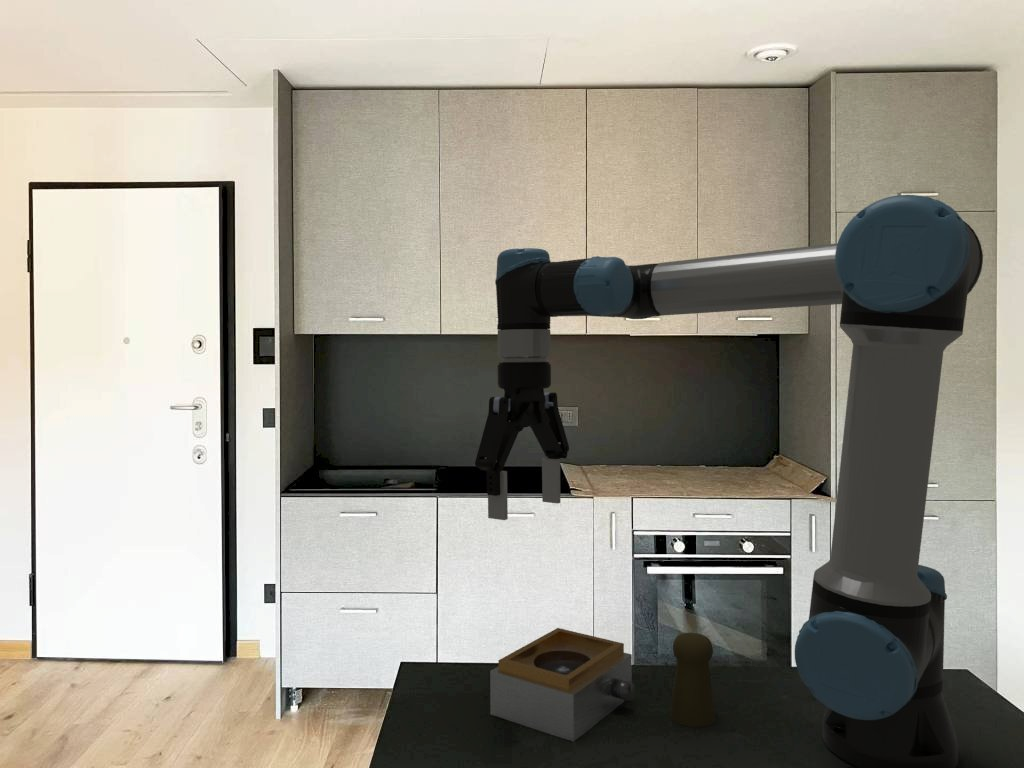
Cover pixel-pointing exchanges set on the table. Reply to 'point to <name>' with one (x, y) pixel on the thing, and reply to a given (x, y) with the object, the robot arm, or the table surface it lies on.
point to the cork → (692, 681)
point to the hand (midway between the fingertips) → (525, 510)
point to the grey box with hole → (562, 683)
